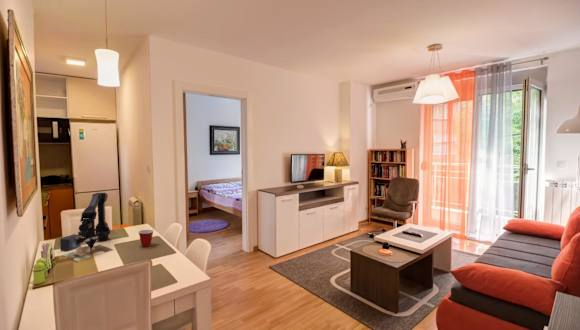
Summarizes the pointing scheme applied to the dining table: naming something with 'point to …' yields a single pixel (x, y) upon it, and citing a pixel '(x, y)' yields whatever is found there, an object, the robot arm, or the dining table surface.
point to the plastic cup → (146, 237)
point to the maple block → (83, 251)
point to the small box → (69, 243)
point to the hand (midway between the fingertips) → (90, 249)
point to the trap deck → (97, 249)
